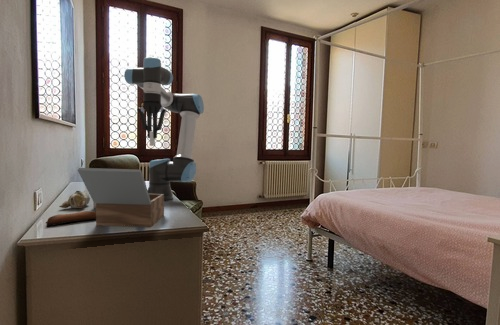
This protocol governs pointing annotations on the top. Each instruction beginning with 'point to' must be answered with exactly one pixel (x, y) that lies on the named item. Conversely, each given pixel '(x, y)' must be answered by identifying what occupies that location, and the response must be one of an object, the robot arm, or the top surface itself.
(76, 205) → the ceramic sculpture
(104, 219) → the walnut box
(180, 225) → the top surface
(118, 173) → the lid
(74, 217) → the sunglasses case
